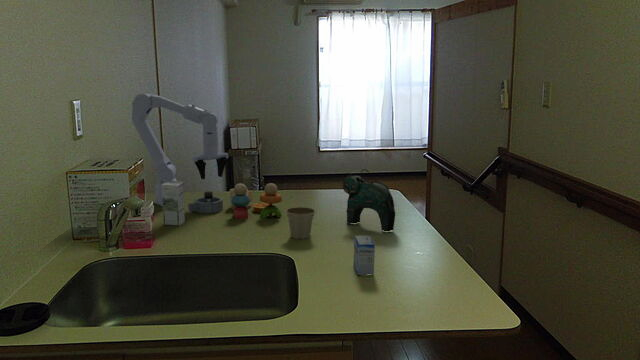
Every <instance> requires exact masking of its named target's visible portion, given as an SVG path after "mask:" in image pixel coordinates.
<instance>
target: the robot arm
mask: <svg viewBox="0 0 640 360" xmlns="http://www.w3.org/2000/svg"><path fill="white" fill-rule="evenodd" d="M131 106H132V109H131V111H132V112H131V121H132V123H133V126H134V127H135V129H136V130H137V133H138V135H139V137H140V138H141V140H142V142H143V144H144V146H145V148H146V150H147V152H148V153H149V155H150V158H151V159H152V161H153V165H154V169H155V171H156V177H157V182H156V183H155V185H154V191H155V193H154V194H155V200H154V201H153V203H154V204H156V205H159V206H160V207H163V201H162V184H163V183H165V182H178V180H177V179H176V176H177V174H178V169H177V166H176V165H175V164H174V163H173V162H171V160H170V159H169V158H168V157H167V155H166V154H165V151H164V150H163V148H162V146H161V144H160V142H159V140H158V139H157V136H156V134H155V133H154V131H153V129H152V127H151V125H150V124H149V122H148V117H149V114H150V112H151V111H152V110H153V109H157V108H164V109H167V110H170V111H173V112H175V113H178V114H181V115H182V117H183V118H184V119H185V120H188V121H190V122H193V123H196V124H198V125H200V124H201V125H202V144H203V145H202V147H203V151H202V152H203V154H198V155H192V161H193V163H194V164H195V166H196V168H197V170H198V172H199V176H200V179H201V180H206V165H207V162H205V161H209V160H215V161H216V165H217V176H218V177H219V178H222V177H223V174H224V171H225V167H226V165H227V164H228V161H229V160H228V159H229V153H228V152H219V135H218V134H219V133H218V125H217V124H218V123H219V122H218V121H219V118H218V116H217V114H216V113H214V112H213V111H208V110H207V109H206V108H205V109H202V108H199V107H197V106H196V104H194V103H193V104H186V105H183V104H181V103H178V102H176V101H173V100H171V99H169V98H166V97H164V96H161V95H157V94H153V93H151V92H143V93H139V94H137V95H135V98H134V99H133V101H132V103H131Z"/></svg>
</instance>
